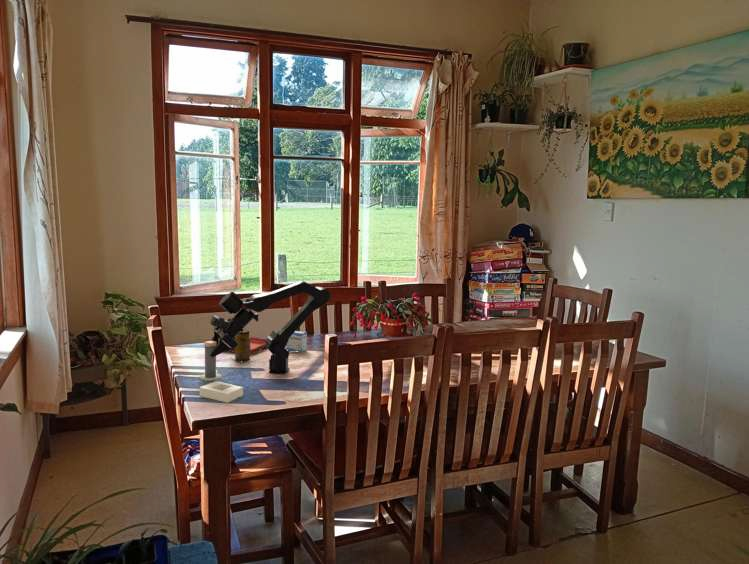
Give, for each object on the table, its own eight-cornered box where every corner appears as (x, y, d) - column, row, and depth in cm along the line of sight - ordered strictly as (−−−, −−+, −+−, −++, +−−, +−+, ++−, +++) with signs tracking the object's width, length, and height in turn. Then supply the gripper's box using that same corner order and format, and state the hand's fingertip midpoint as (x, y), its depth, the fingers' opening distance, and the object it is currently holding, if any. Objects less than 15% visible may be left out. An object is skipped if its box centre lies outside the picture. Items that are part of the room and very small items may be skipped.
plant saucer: (272, 346, 267) (273, 339, 266) (251, 356, 250) (251, 349, 250) (238, 341, 273) (238, 334, 272) (215, 351, 256) (215, 343, 255)
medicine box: (285, 351, 259) (286, 331, 258) (290, 348, 263) (290, 329, 262) (302, 353, 257) (302, 333, 255) (306, 350, 261) (307, 331, 260)
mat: (225, 374, 223) (225, 373, 223) (216, 381, 215) (216, 380, 215) (205, 373, 224) (205, 372, 224) (195, 379, 217) (195, 378, 217)
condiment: (246, 356, 249) (246, 328, 248) (256, 360, 243) (256, 332, 241) (230, 358, 245) (230, 330, 243) (239, 363, 238) (239, 334, 237)
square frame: (215, 389, 207) (215, 380, 207) (243, 395, 202) (243, 387, 202) (199, 395, 200) (199, 387, 200) (227, 402, 195) (227, 393, 194)
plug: (218, 376, 220) (218, 342, 218) (207, 379, 217) (207, 344, 215) (213, 373, 223) (212, 340, 221) (202, 375, 220) (201, 341, 218)
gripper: (219, 303, 226) (189, 333, 224) (227, 313, 209) (196, 345, 207) (239, 322, 231) (211, 351, 228) (250, 333, 214) (219, 365, 211)
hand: (209, 353), depth 218 cm, fingers open, 9 cm apart
